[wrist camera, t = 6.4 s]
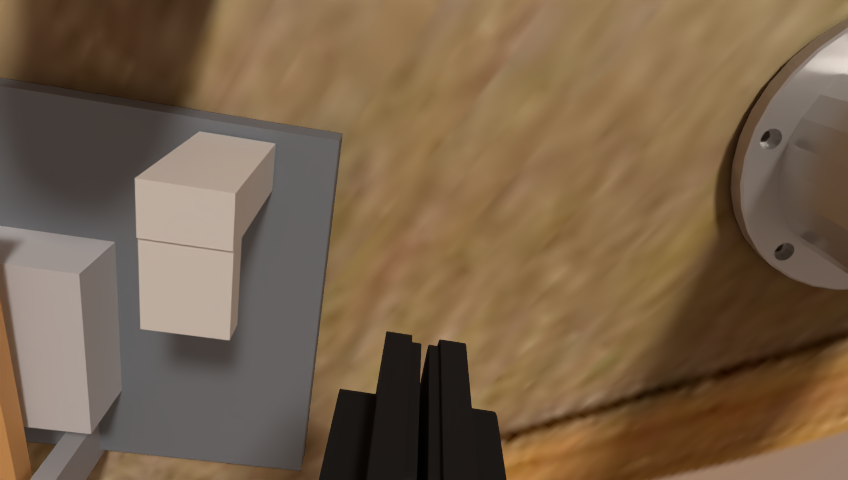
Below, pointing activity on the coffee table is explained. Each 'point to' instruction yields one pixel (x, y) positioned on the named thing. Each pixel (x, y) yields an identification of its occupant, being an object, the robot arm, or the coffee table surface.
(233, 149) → the block
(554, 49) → the coffee table surface
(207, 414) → the board
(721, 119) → the coffee table surface
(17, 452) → the strap
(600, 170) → the coffee table surface
